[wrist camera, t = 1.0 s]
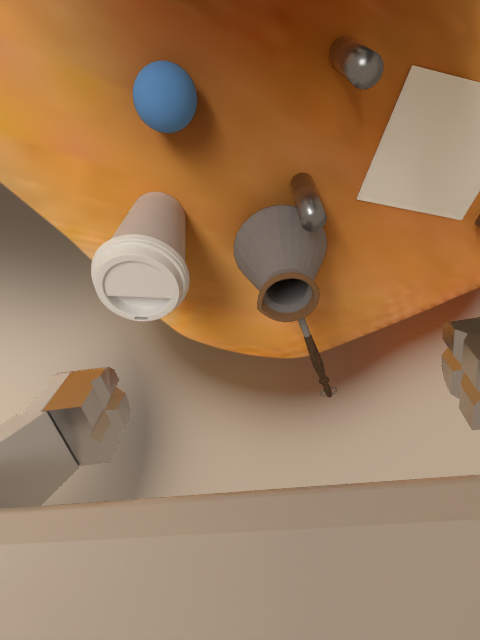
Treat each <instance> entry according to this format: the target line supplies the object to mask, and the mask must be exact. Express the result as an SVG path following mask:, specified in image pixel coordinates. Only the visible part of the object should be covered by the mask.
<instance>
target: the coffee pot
mask: <svg viewBox="0 0 480 640" xmlns="http://www.w3.org/2000/svg"><path fill="white" fill-rule="evenodd" d="M326 248H327V239H326V233H325V231H324V229H323V227H322V228H321V229H320V230H318V231H314V232H309V231H306V230H305V229H303V227H302V226H301V223H300V219H299V216H298V212H297V208H296V207H295V206H291V205H274V206H271V207H267V208H264V209H262V210H260V211H258V212H256V213H255V214H253V215H252V216H251V217H250V218H248V219H247V220H246V221H245V222H244V223H243V225H242V226H241V228H240V230H239V231H238V233H237V235H236V239H235V243H234V257H235V260H236V262H237V265H238V267H239V269H240V270H241V271H242V273H243V274H244V275H245V276H246V277H247V278H248V279H249V280H250V281H251V282H252V284H253V285H254V286H255V287H256V288H257V289H258V290H259V291H260V292H259V295H258V301H257V309H258V310H259V311H260V312H261V313H263V314H264V315H266V316H267V317H269V318H271V319H273V320H276V321H281V322H292V321H297V320H298V322H299V324H300V327H301V329H302V332H303V334H304V339H305V342H306V345H307V348H308V351H309V355H310V358H311V361H312V364H313V367H314V368H315V370H316V372H317V374H318V376H319V377H320V380H319V382H320V384H322V385H323V387H324V389H323V390H322V391H320V393H319V394H320V395H321V392H323V391H325V393H326V395H321V396H328V397H331V396H332V395H333V394H334V393H336V392H337V388H336V387H330V386H329V384H328V381H329V378H328V377H326V375H325V370H324V365H323V361H322V359H321V357H320V354H319V352H318V350H317V347H316V345H315V343H314V340H313V338H312V336H311V334H310V332H309V329H308V326H307V323H306V320H305V317H306V316H307V315H309V314H310V313H311V312H312V311H313V310H314V309H315V308H316V306H317V304H318V301H319V295H320V294H319V289H318V287H317V285H316V283H315V282H314V279H315V277H316V275H317V272H318V270H319V268H320V266H321V264H322V261H323V259H324V257H325V255H326ZM331 388H335V389H336V391H335V392H333V393H332V392H331Z"/></svg>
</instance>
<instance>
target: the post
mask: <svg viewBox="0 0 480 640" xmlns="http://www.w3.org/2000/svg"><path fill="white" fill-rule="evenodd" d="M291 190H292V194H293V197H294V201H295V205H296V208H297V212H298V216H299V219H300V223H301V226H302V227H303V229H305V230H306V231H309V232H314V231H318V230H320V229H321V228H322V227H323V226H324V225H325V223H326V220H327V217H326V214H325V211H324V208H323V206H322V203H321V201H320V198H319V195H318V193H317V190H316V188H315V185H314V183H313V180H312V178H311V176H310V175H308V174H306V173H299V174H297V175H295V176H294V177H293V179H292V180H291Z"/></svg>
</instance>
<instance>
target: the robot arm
mask: <svg viewBox="0 0 480 640" xmlns="http://www.w3.org/2000/svg"><path fill="white" fill-rule="evenodd" d="M443 340H444V342H445V343H446V345H447V346H448V348H447V349H446V350H445V352H444V353H443V354H442V370H443V376H444V380H445V382H446V385H447V387H448V389H449V391H450V393H451V394H452V395H454V396H455V397H457V398H459V399H460V403H459V409H460V410H461V412H462V414H463V415H464V417H465V419H466V420H467V422H468V424H469V426H470V427H471V429H472V430H478V429H480V317H478V318H471V319H465V320H459V321H453V322H446V323H445V324H444V327H443ZM118 382H119V378H118V376H117V374H116V373H115V371H114V369H112V368H110V367H105V368H97V369H87V370H78V371H69V372H62V373H58V374H55V375H53V376H52V377H51V378H50V380H49V381H48V382H47V383H46V384H45V386H44V387H43V388H42V390H41V391H40V392H39V393H38V394H37V396H36V397H35V398H34V400H33V401H32V402H31V403H30V405H29V406H28V407H27V408H26V409H25V411H24V412H23V413H22V414H19V415H15V416H14V417H12V418H11V419H9V420H7V421H6V422H4V423H3V424H1V425H0V640H480V475H468V476H454V477H439V478H426V479H412V480H411V479H410V480H397V481H382V482H368V483H355V484H354V483H353V484H341V485H340V484H339V485H326V486H311V487H297V488H283V489H269V490H255V491H242V492H228V493H214V494H200V495H188V496H174V497H160V498H145V499H131V500H117V501H103V502H89V503H76V504H60V505H46V506H41V505H42V504H43V503H44V502H45V501H46V500H47V499H48V498H49V497H50V496H51V495H52V494H53V493H54V492H55V491H56V490H57V489H58V488H59V487H60V486H61V485H62V484H63V483H64V482H65V481H66V480H67V479H68V478H69V477H70V476H71V475H72V474H73V473H74V472H75V471H76V470H77V469H78V468H79V466H83V465H91V464H99V463H108V462H111V459H112V457H113V455H114V453H115V451H116V448H117V446H118V444H119V439H118V437H117V435H118V434H119V433H121V432H122V431H123V430H124V429H125V428H126V426H127V424H128V421H129V415H130V406H129V402H128V399H127V396H126V394H125V393H124V392H123V391H121V390H120V389H119V388H117V385H118Z"/></svg>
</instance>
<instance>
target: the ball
mask: <svg viewBox="0 0 480 640" xmlns="http://www.w3.org/2000/svg"><path fill="white" fill-rule="evenodd" d="M133 101H134V105H135V108H136V111H137V113H138V115H139V116H140V118H141V119H142V120H143V121H144V123H146V124H147V125H148V126H149V127H150V128H152V129H154V130H156V131H158V132H162V133H174V132H177V131H179V130H181V129H183V128H185V127H186V126H187V125H188V124H189V123H190V121H191V120H192V118H193V116H194V114H195V111H196V107H197V93H196V89H195V85H194V83H193V81H192V79H191V77H190V76H189V75H188V73H187V72H186V71H185V70H184V69H183V68H181V67H180V66H178V65H177V64H175V63H172V62H169V61H155V62H152V63H150V64H148V65H147V66H145V67H144V68H143V69H142V70H141V71H140V72H139V74H138V76H137V78H136V80H135V82H134V87H133Z"/></svg>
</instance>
